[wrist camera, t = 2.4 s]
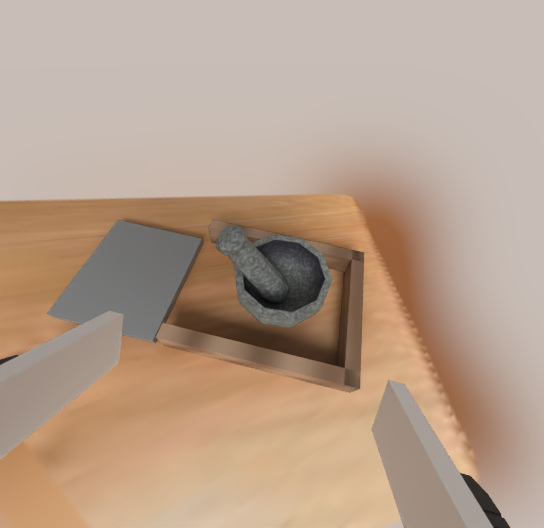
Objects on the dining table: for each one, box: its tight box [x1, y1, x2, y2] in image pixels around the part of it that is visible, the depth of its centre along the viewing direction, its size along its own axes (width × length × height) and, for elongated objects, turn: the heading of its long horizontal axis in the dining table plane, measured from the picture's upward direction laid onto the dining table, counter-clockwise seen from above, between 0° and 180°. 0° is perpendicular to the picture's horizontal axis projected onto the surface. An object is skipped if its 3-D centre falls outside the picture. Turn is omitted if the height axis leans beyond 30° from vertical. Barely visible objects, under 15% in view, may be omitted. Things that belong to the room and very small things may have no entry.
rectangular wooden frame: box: [156, 219, 364, 393], centre depth 30 cm, size 20×16×3 cm
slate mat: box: [47, 220, 203, 343], centre depth 31 cm, size 12×14×1 cm
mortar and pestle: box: [216, 225, 332, 328], centre depth 26 cm, size 11×9×12 cm
